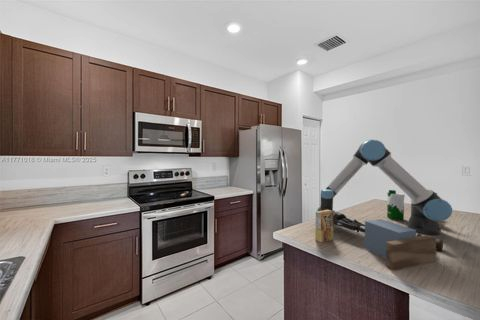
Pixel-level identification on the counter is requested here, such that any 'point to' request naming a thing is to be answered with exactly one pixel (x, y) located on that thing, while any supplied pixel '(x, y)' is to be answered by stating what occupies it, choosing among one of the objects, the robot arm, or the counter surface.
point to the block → (384, 234)
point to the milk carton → (395, 205)
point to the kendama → (438, 243)
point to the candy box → (324, 225)
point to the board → (410, 252)
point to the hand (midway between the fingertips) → (371, 233)
